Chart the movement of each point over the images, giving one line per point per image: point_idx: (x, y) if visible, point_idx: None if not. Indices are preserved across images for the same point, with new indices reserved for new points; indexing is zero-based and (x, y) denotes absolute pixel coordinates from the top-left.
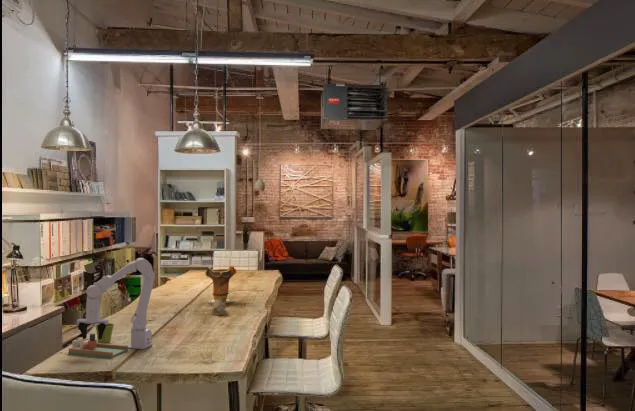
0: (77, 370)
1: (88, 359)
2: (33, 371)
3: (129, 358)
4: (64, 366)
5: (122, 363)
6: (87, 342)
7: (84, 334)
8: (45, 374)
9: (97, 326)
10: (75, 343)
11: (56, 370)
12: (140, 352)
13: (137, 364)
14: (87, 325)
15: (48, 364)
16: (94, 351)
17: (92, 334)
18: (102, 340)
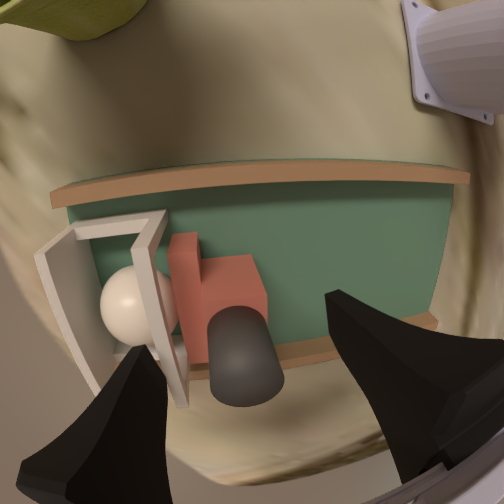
0: (350, 439)
1: (318, 378)
2: (219, 481)
3: (478, 280)
4: (278, 447)
5: (464, 335)
6: (167, 314)
7: (157, 414)
8: (276, 478)
9: (401, 480)
10: (102, 364)
11: (282, 463)
12: (493, 180)
13: (497, 316)
14: (87, 461)
15: (197, 455)
16: (329, 357)
17: (263, 394)
18: (109, 23)
